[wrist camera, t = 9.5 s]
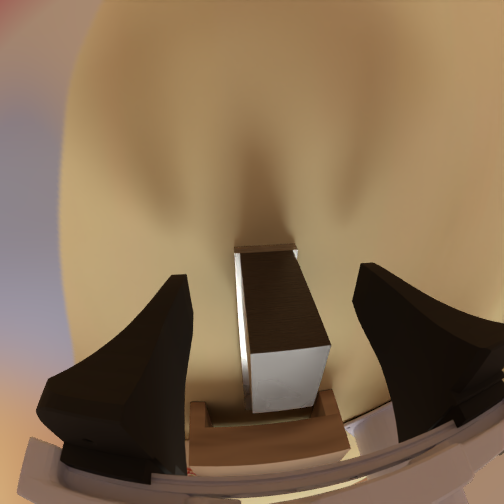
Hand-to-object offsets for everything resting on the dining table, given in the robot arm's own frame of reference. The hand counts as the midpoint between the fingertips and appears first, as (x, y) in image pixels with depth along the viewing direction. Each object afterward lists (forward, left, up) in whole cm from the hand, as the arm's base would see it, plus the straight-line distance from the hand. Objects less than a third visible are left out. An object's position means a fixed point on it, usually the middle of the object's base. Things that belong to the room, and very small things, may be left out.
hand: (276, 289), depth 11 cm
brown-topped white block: (-6, +4, -3) cm, 8 cm away
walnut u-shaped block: (-15, +9, -3) cm, 18 cm away
